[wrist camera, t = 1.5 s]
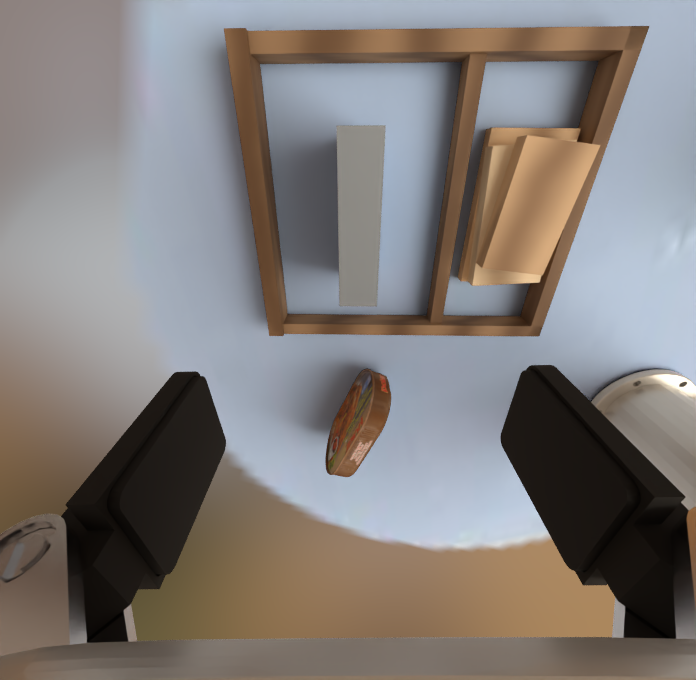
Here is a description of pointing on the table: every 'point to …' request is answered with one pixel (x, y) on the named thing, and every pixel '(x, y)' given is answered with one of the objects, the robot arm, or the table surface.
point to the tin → (358, 423)
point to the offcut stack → (522, 202)
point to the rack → (473, 51)
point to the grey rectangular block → (359, 211)
